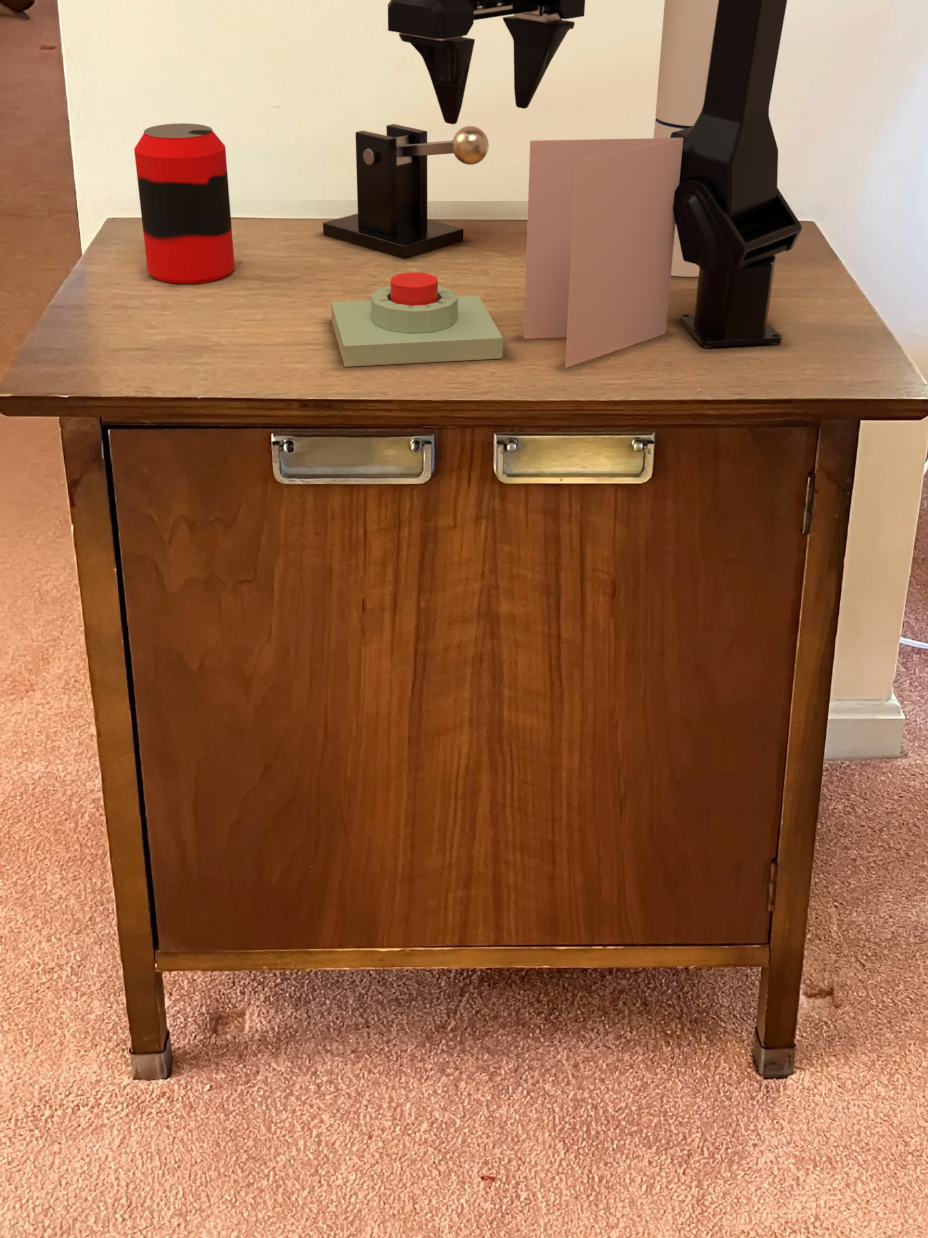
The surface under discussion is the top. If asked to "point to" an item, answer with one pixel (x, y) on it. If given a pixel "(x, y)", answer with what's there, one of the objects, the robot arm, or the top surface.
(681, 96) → the cylindrical container
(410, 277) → the button
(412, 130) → the switch bracket
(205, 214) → the soda can
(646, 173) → the greeting card
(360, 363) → the button housing
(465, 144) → the lever
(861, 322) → the top surface
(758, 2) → the robot arm
